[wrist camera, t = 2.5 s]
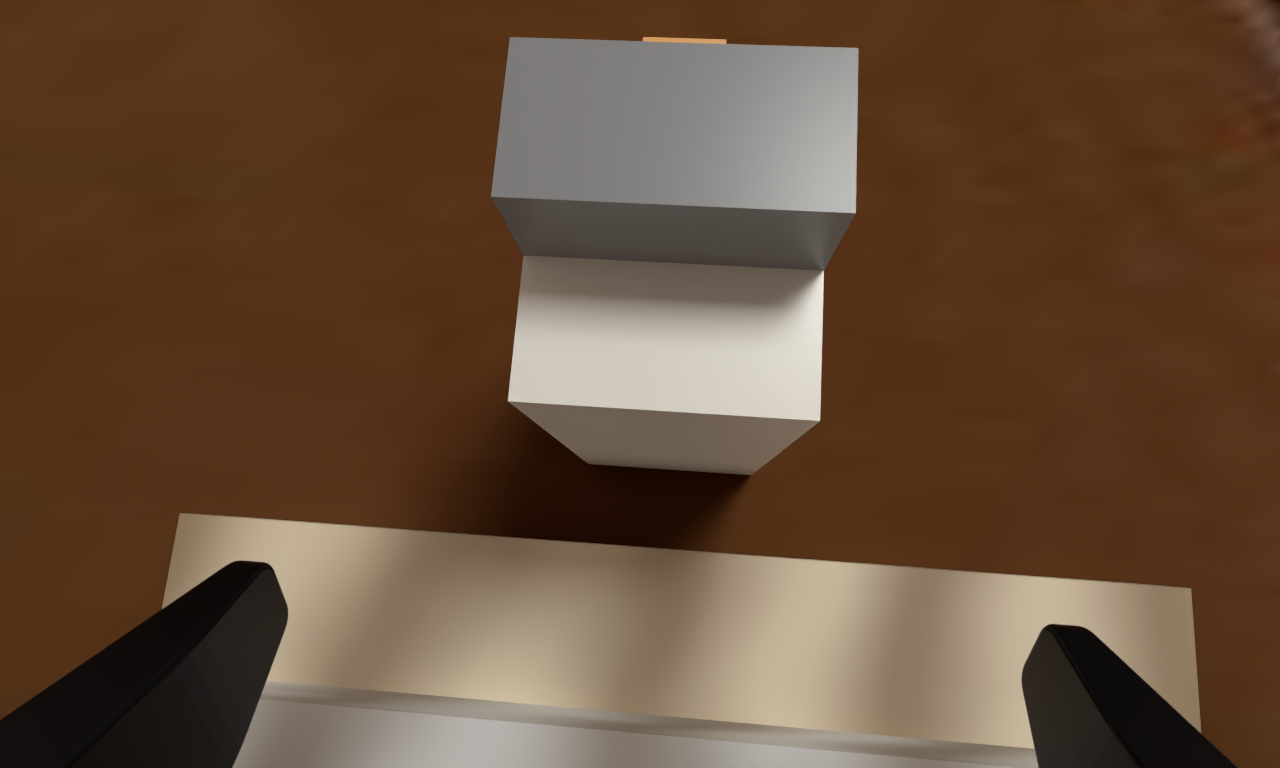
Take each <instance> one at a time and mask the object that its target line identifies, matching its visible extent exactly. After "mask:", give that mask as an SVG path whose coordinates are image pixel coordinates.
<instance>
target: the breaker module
mask: <svg viewBox="0 0 1280 768" xmlns="http://www.w3.org/2000/svg"><path fill="white" fill-rule="evenodd" d="M857 101H858V48H836V47H804V46H772V45H741V44H726V40H721V39H689V38H657V37H643V41H614V40H582V39H550V38H519V37H510V42H509V50H508V59H507V67H506V75H505V84H504V92H503V101H502V109H501V117H500V126H499V134H498V143H497V151H496V159H495V168H494V176H493V185H492V193H491V198H492V199H493V201H494V203H495V205H496V207H497V208H498V210H499V212H500V214H501V216H502V217H503V219H504V221H505V223H506V225H507V226H508V228H509V230H510V232H511V234H512V235H513V237H514V239H515V241H516V243H517V244H518V246H519V248H520V250H521V252H522V254H523V255H524V256H523V266H522V275H521V284H520V293H519V303H518V312H517V321H516V330H515V340H514V349H513V358H512V367H511V377H510V386H509V395H508V402H509V403H511V404H512V405H513V406H515V407H516V408H517V409H518V410H520V411H521V412H522V413H524V414H525V415H526V416H527V417H529V418H530V419H531V420H533V421H534V422H535V423H536V424H538V425H539V426H540V427H542V428H543V429H544V430H545V431H547V432H548V433H549V434H550V435H552V436H553V437H554V438H556V439H557V440H558V441H559V442H561V443H562V444H563V445H565V446H566V447H567V448H568V449H570V450H571V451H572V452H574V453H575V454H576V455H577V456H579V457H580V458H581V459H583V460H584V461H585V462H586V463H588V464H594V465H609V466H624V467H639V468H653V469H668V470H683V471H698V472H712V473H727V474H742V475H752V474H753V473H755V472H756V471H757V470H758V469H760V468H761V467H762V466H763V465H765V464H766V463H767V462H769V461H770V460H771V459H772V458H774V457H775V456H776V455H777V454H779V453H780V452H781V451H782V450H784V449H785V448H786V447H788V446H789V445H790V444H791V443H793V442H794V441H795V440H796V439H798V438H799V437H800V436H802V435H803V434H804V433H805V432H807V431H808V430H809V429H810V428H812V427H813V426H814V425H816V424H817V423H818V422H819V421H820V404H821V363H822V323H823V282H824V269H825V267H826V266H827V264H828V262H829V260H830V258H831V257H832V255H833V253H834V251H835V250H836V248H837V246H838V244H839V242H840V241H841V239H842V237H843V235H844V233H845V232H846V230H847V228H848V226H849V224H850V223H851V221H852V219H853V217H854V215H855V214H856V164H857Z"/></svg>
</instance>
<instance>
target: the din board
mask: <svg viewBox="0 0 1280 768" xmlns="http://www.w3.org/2000/svg"><path fill="white" fill-rule="evenodd" d="M234 561H255V562H265V563H268V564H269V565H270V566H272V567H273V569H274V571H275V574H276V577H277V579H278V582H279V584H280V587H281V590H282V592H283V595H284V597H285V600H286V603H287V606H288V621H287V626H286V629H285V632H284V634H283V637H282V640H281V643H280V645H279V648H278V651H277V654H276V656H275V659H274V662H273V664H272V667H271V670H270V673H269V675H268V678H267V681H266V684H265V686H264V689H263V692H262V695H261V697H260V700H259V703H258V705H257V708H256V711H255V714H254V716H253V719H252V722H251V725H250V727H249V730H248V732H247V735H246V737H245V740H244V742H243V745H242V747H241V750H240V752H239V754H238V756H237V759H236V761H235V763H234V765H233V767H232V768H1038V763H1037V758H1036V753H1035V748H1034V744H1033V739H1032V734H1031V729H1030V724H1029V719H1028V715H1027V710H1026V705H1025V700H1024V695H1023V690H1022V682H1021V677H1022V670H1023V666H1024V664H1025V662H1026V660H1027V658H1028V656H1029V654H1030V652H1031V650H1032V648H1033V646H1034V644H1035V642H1036V640H1037V638H1038V636H1039V634H1040V632H1041V630H1042V629H1043V628H1044V627H1045V626H1047V625H1048V624H1061V625H1074V626H1081V627H1084V628H1087V629H1088V630H1090V631H1091V632H1093V633H1094V634H1095V635H1096V636H1097V637H1098V638H1099V639H1100V640H1101V641H1102V642H1104V643H1105V644H1106V645H1107V646H1108V647H1109V648H1110V649H1111V650H1112V651H1113V652H1114V653H1115V654H1116V655H1117V656H1119V657H1120V658H1121V659H1122V660H1123V661H1124V662H1125V663H1126V664H1127V665H1128V666H1129V667H1130V668H1131V669H1132V670H1134V671H1135V672H1136V673H1137V674H1138V675H1139V676H1140V677H1141V678H1142V679H1143V680H1144V681H1145V682H1146V683H1147V684H1149V685H1150V686H1151V687H1152V688H1153V689H1154V690H1155V691H1156V692H1157V693H1158V694H1159V695H1160V696H1161V697H1162V698H1164V699H1165V700H1166V701H1167V702H1168V703H1169V704H1170V705H1171V706H1172V707H1173V708H1174V709H1175V710H1176V711H1177V712H1178V713H1180V714H1181V715H1182V716H1183V717H1184V718H1185V719H1186V720H1187V721H1188V722H1189V723H1190V724H1191V725H1192V726H1193V727H1195V728H1196V729H1197V730H1198V731H1199V732H1200V733H1201V723H1200V709H1199V695H1198V681H1197V667H1196V653H1195V639H1194V624H1193V610H1192V596H1191V589H1190V588H1181V587H1172V586H1161V585H1148V584H1134V583H1121V582H1108V581H1094V580H1081V579H1067V578H1054V577H1040V576H1027V575H1014V574H1000V573H987V572H973V571H960V570H946V569H933V568H920V567H906V566H893V565H879V564H866V563H852V562H839V561H826V560H812V559H799V558H785V557H772V556H758V555H745V554H731V553H718V552H705V551H691V550H678V549H664V548H651V547H637V546H624V545H611V544H597V543H584V542H570V541H557V540H543V539H530V538H517V537H503V536H490V535H476V534H463V533H449V532H436V531H423V530H409V529H396V528H382V527H369V526H355V525H342V524H328V523H315V522H302V521H288V520H275V519H261V518H248V517H234V516H221V515H208V514H186V513H180V516H179V521H178V526H177V532H176V537H175V542H174V547H173V553H172V558H171V563H170V569H169V574H168V579H167V584H166V590H165V595H164V600H163V605H162V609H163V608H165V607H166V606H167V605H169V604H170V603H172V602H173V601H175V600H176V599H178V598H179V597H181V596H182V595H183V594H185V593H186V592H188V591H189V590H191V589H192V588H194V587H195V586H197V585H198V584H200V583H201V582H202V581H204V580H205V579H207V578H208V577H210V576H211V575H213V574H214V573H216V572H217V571H218V570H220V569H221V568H223V567H224V566H226V565H228V564H229V563H232V562H234Z"/></svg>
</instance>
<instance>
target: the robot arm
mask: <svg viewBox="0 0 1280 768" xmlns="http://www.w3.org/2000/svg"><path fill="white" fill-rule="evenodd" d="M287 621H288V606H287V603H286V600H285V597H284V595H283V592H282V590H281V587H280V584H279V582H278V579H277V577H276V574H275V571H274V569H273V567H272V566H270V565H269V564H268V563H265V562H255V561H234V562H232V563H229V564H228V565H226V566H224V567H223V568H221V569H220V570H218V571H217V572H216V573H214V574H213V575H211V576H210V577H208V578H207V579H205V580H204V581H202V582H201V583H200V584H198V585H197V586H195V587H194V588H192V589H191V590H189V591H188V592H186V593H185V594H183V595H182V596H181V597H179V598H178V599H176V600H175V601H173V602H172V603H170V604H169V605H167V606H166V607H165V608H163V609H162V610H160V611H159V612H157V613H156V614H154V615H153V616H151V617H150V618H149V619H147V620H146V621H144V622H143V623H141V624H140V625H138V626H137V627H135V628H134V629H132V630H131V631H130V632H128V633H127V634H125V635H124V636H122V637H121V638H119V639H118V640H116V641H115V642H114V643H112V644H111V645H109V646H108V647H106V648H105V649H103V650H102V651H100V652H99V653H97V654H96V655H95V656H93V657H92V658H90V659H89V660H87V661H86V662H84V663H83V664H81V665H80V666H79V667H77V668H76V669H74V670H73V671H71V672H70V673H68V674H67V675H65V676H64V677H62V678H61V679H60V680H58V681H57V682H55V683H54V684H52V685H51V686H49V687H48V688H46V689H45V690H44V691H42V692H41V693H39V694H38V695H36V696H35V697H33V698H32V699H30V700H29V701H28V702H26V703H25V704H23V705H22V706H20V707H19V708H17V709H16V710H14V711H13V712H11V713H10V714H9V715H7V716H6V717H4V718H3V719H1V720H0V768H232V767H233V765H234V763H235V761H236V759H237V756H238V754H239V752H240V750H241V747H242V745H243V742H244V740H245V737H246V735H247V732H248V730H249V727H250V725H251V722H252V719H253V716H254V714H255V711H256V708H257V705H258V703H259V700H260V697H261V695H262V692H263V689H264V686H265V684H266V681H267V678H268V675H269V673H270V670H271V667H272V664H273V662H274V659H275V656H276V654H277V651H278V648H279V645H280V643H281V640H282V637H283V634H284V632H285V629H286V626H287ZM1021 682H1022V690H1023V695H1024V700H1025V705H1026V710H1027V715H1028V719H1029V724H1030V729H1031V734H1032V739H1033V744H1034V748H1035V753H1036V758H1037V763H1038V768H1237V767H1236V766H1235V765H1234V764H1233V763H1232V762H1231V761H1230V760H1229V759H1228V758H1227V757H1226V756H1225V755H1223V754H1222V753H1221V752H1220V751H1219V750H1218V749H1217V748H1216V747H1215V746H1214V745H1213V744H1212V743H1211V742H1210V741H1208V740H1207V739H1206V738H1205V737H1204V736H1203V735H1202V734H1201V733H1200V732H1199V731H1198V730H1197V729H1196V728H1195V727H1193V726H1192V725H1191V724H1190V723H1189V722H1188V721H1187V720H1186V719H1185V718H1184V717H1183V716H1182V715H1181V714H1180V713H1178V712H1177V711H1176V710H1175V709H1174V708H1173V707H1172V706H1171V705H1170V704H1169V703H1168V702H1167V701H1166V700H1165V699H1164V698H1162V697H1161V696H1160V695H1159V694H1158V693H1157V692H1156V691H1155V690H1154V689H1153V688H1152V687H1151V686H1150V685H1149V684H1147V683H1146V682H1145V681H1144V680H1143V679H1142V678H1141V677H1140V676H1139V675H1138V674H1137V673H1136V672H1135V671H1134V670H1132V669H1131V668H1130V667H1129V666H1128V665H1127V664H1126V663H1125V662H1124V661H1123V660H1122V659H1121V658H1120V657H1119V656H1117V655H1116V654H1115V653H1114V652H1113V651H1112V650H1111V649H1110V648H1109V647H1108V646H1107V645H1106V644H1105V643H1104V642H1102V641H1101V640H1100V639H1099V638H1098V637H1097V636H1096V635H1095V634H1094V633H1093V632H1091V631H1090V630H1088V629H1087V628H1084V627H1081V626H1074V625H1061V624H1048V625H1047V626H1045V627H1044V628H1043V629H1042V630H1041V632H1040V634H1039V636H1038V638H1037V640H1036V642H1035V644H1034V646H1033V648H1032V650H1031V652H1030V654H1029V656H1028V658H1027V660H1026V662H1025V664H1024V666H1023V670H1022V677H1021Z"/></svg>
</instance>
